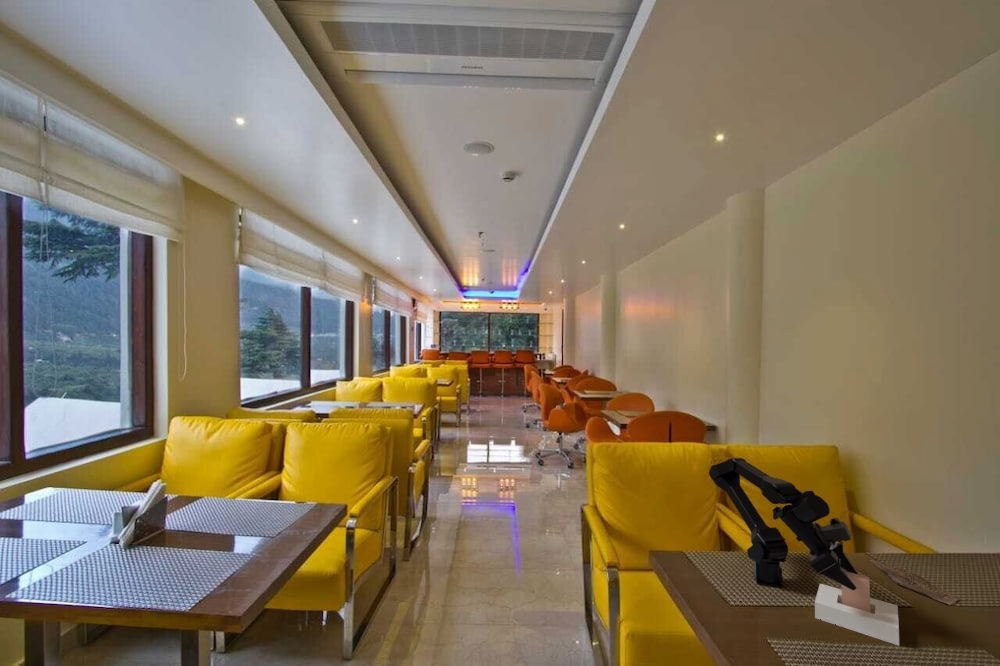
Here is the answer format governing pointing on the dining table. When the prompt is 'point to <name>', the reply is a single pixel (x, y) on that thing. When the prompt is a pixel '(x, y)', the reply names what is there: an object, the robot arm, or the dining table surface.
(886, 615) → the white slotted block
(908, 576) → the wooden fragment
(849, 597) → the pink rectangular block
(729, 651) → the dining table surface
